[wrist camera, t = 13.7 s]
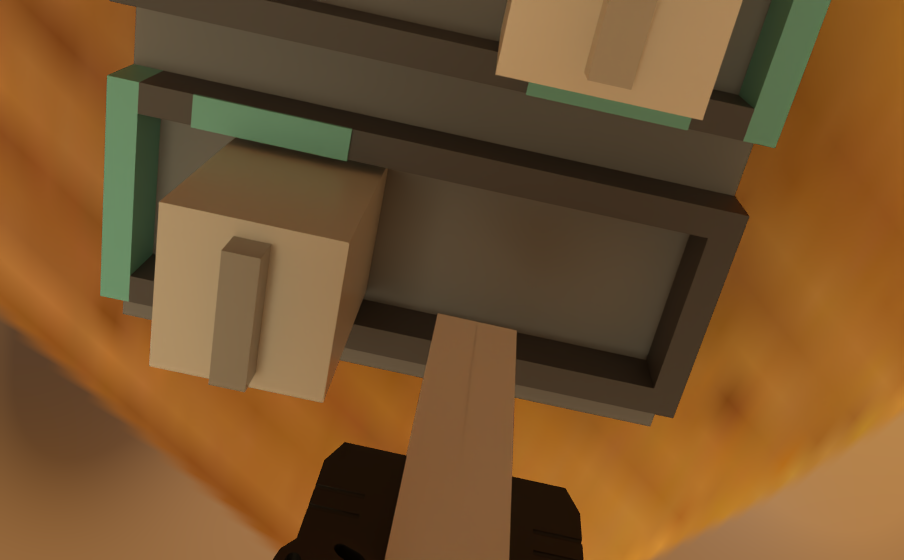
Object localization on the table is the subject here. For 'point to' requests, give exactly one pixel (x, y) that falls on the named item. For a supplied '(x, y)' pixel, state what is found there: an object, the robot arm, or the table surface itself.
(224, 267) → the beige handled cube
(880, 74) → the table surface
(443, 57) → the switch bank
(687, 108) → the beige rectangular block
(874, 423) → the table surface
